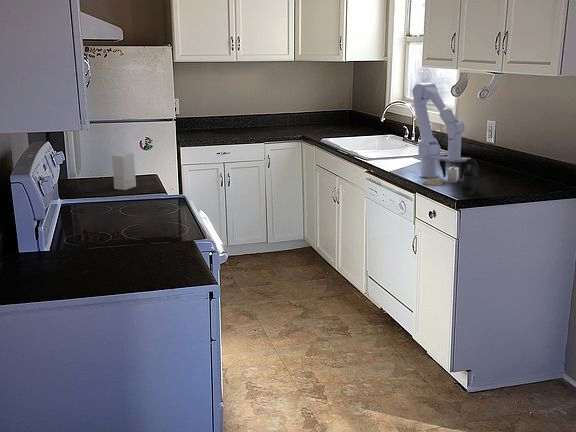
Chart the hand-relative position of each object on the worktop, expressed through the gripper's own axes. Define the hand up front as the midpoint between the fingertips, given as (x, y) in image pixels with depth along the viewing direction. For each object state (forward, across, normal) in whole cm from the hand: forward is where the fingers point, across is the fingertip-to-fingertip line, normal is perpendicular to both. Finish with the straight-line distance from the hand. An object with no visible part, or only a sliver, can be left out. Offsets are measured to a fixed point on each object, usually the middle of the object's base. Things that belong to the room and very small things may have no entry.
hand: (452, 177), depth 304 cm
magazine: (+2, +10, -23) cm, 25 cm away
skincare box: (+2, -138, -60) cm, 150 cm away
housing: (+2, 0, 0) cm, 2 cm away
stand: (+2, -8, -8) cm, 11 cm away
